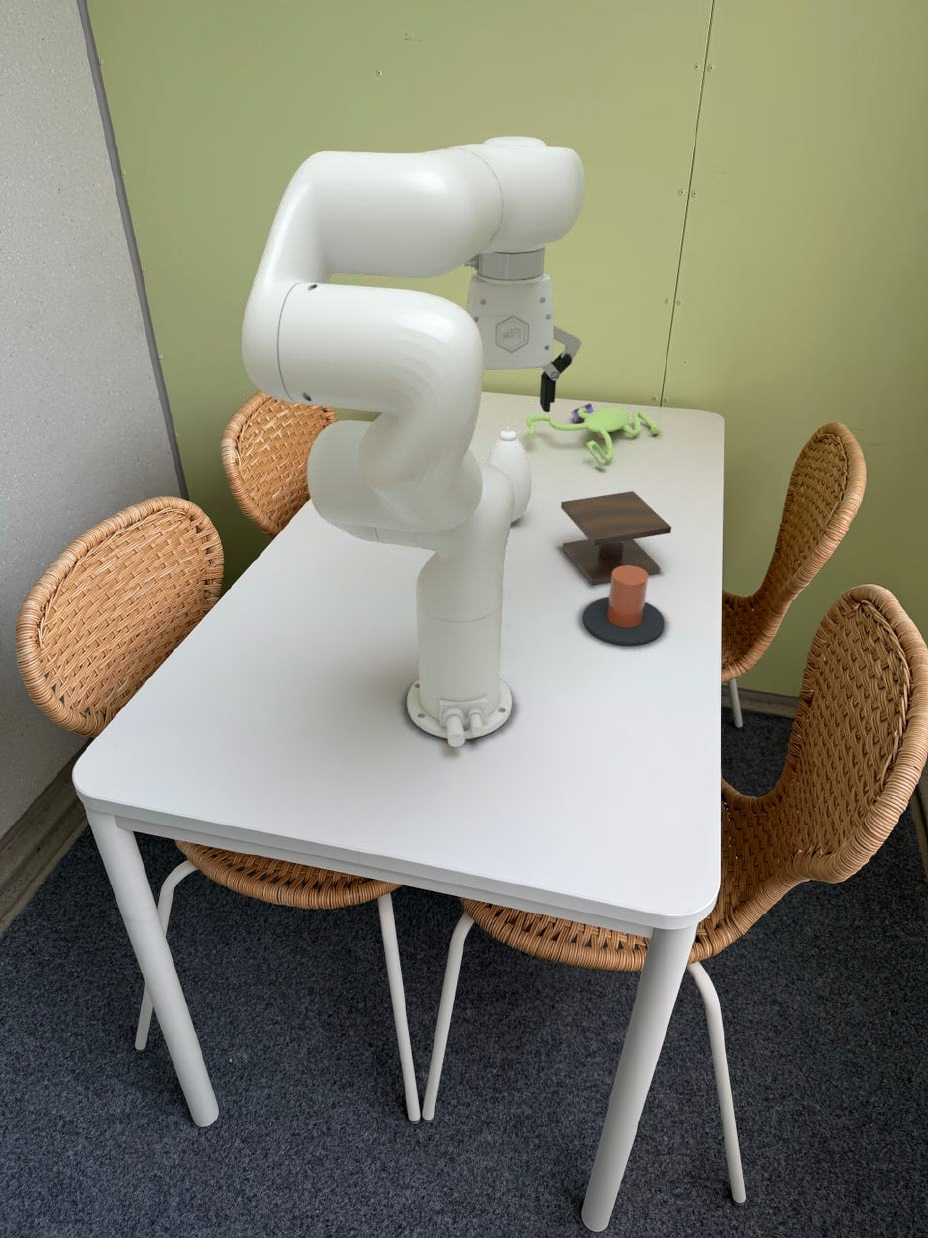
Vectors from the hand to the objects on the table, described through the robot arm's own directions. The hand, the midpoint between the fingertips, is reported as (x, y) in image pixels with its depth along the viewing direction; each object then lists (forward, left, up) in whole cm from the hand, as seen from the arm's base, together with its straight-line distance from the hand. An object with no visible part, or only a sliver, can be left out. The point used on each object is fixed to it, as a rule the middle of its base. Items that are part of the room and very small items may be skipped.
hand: (506, 409), depth 107 cm
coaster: (-7, -16, -28) cm, 33 cm away
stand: (+9, -18, -28) cm, 35 cm away
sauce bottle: (+23, -4, -28) cm, 37 cm away
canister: (-7, -16, -28) cm, 33 cm away
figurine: (+53, -25, -28) cm, 65 cm away
